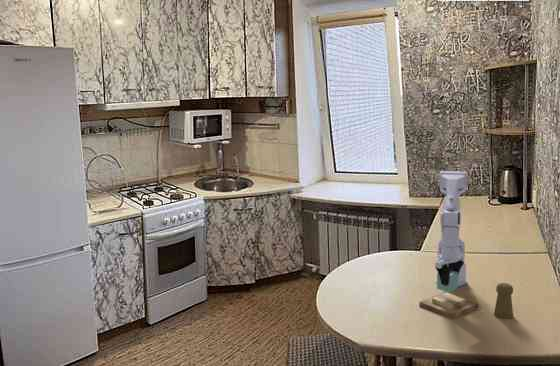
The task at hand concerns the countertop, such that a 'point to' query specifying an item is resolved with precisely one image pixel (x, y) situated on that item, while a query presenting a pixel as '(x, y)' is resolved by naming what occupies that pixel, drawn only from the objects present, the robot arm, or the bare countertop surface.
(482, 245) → the countertop surface
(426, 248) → the countertop surface
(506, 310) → the salt shaker
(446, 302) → the walnut stand
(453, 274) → the teal block
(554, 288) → the countertop surface
